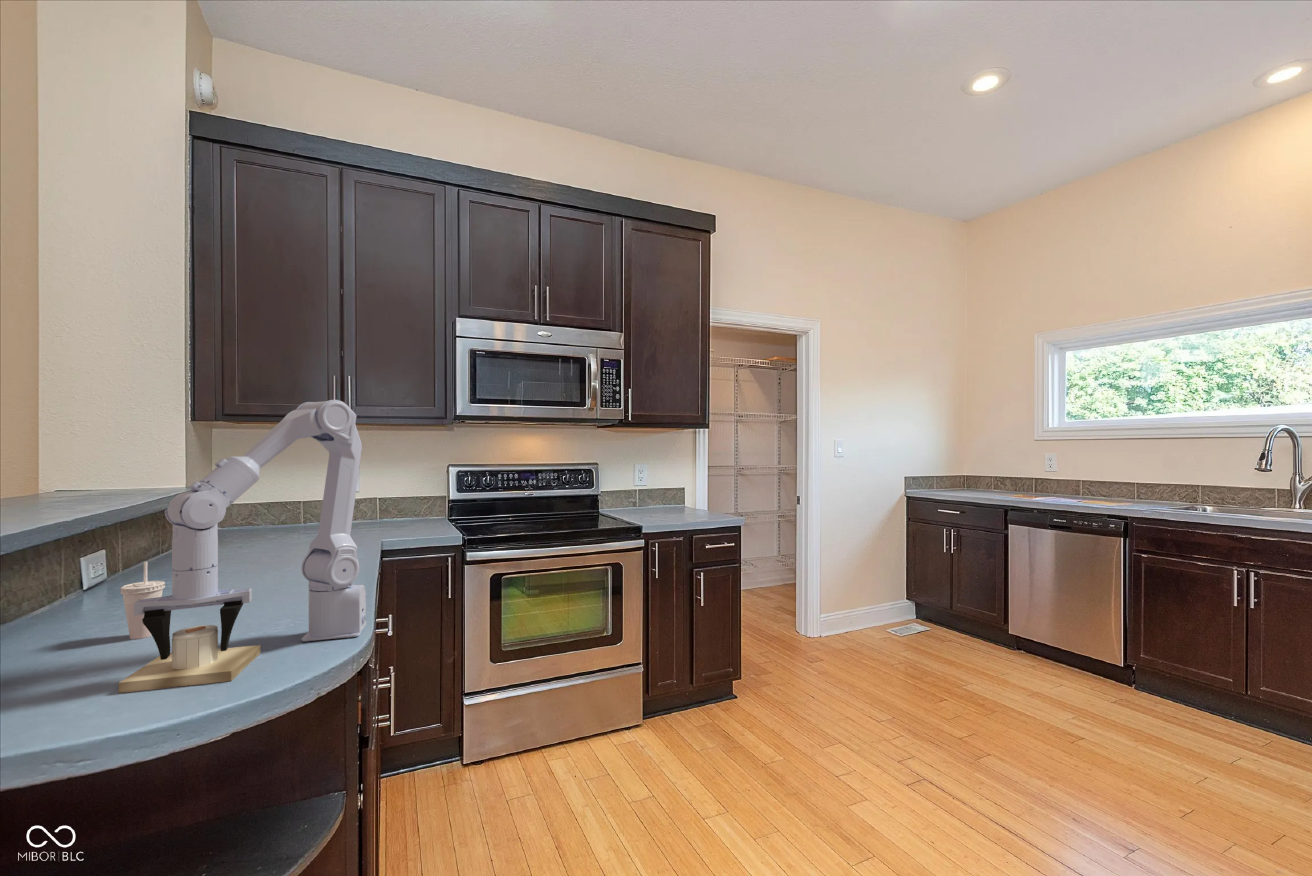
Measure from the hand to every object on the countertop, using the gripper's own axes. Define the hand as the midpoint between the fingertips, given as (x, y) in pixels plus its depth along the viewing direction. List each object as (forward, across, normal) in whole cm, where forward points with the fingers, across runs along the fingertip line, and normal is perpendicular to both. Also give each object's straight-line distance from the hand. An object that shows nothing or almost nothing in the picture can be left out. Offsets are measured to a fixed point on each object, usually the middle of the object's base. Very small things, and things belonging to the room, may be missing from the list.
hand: (195, 653), depth 92 cm
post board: (+3, 0, 0) cm, 3 cm away
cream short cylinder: (+1, 0, 0) cm, 1 cm away
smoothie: (+3, +13, -27) cm, 30 cm away
